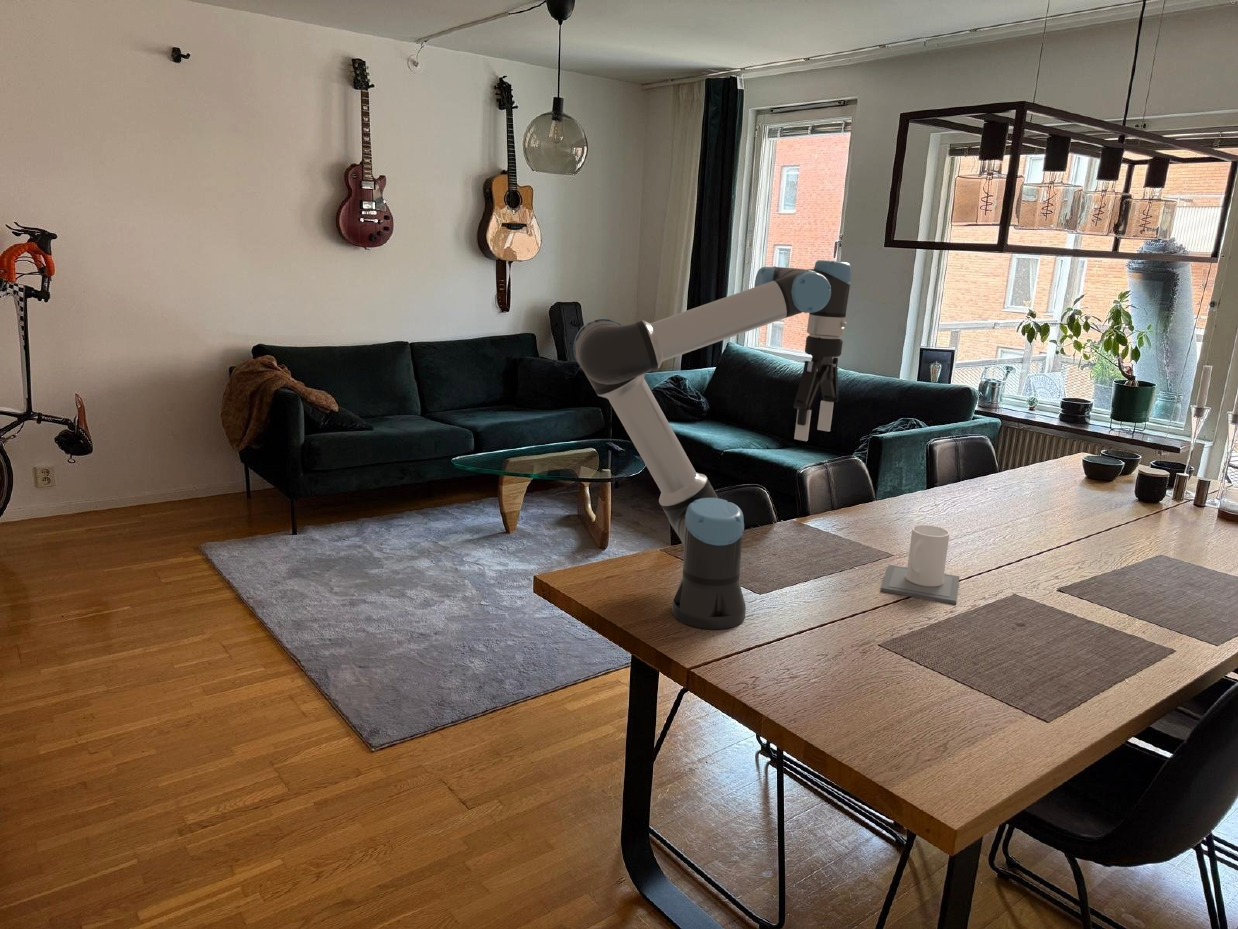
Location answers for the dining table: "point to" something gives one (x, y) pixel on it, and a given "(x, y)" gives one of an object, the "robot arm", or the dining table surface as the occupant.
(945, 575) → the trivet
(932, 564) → the mug
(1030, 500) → the dining table surface
